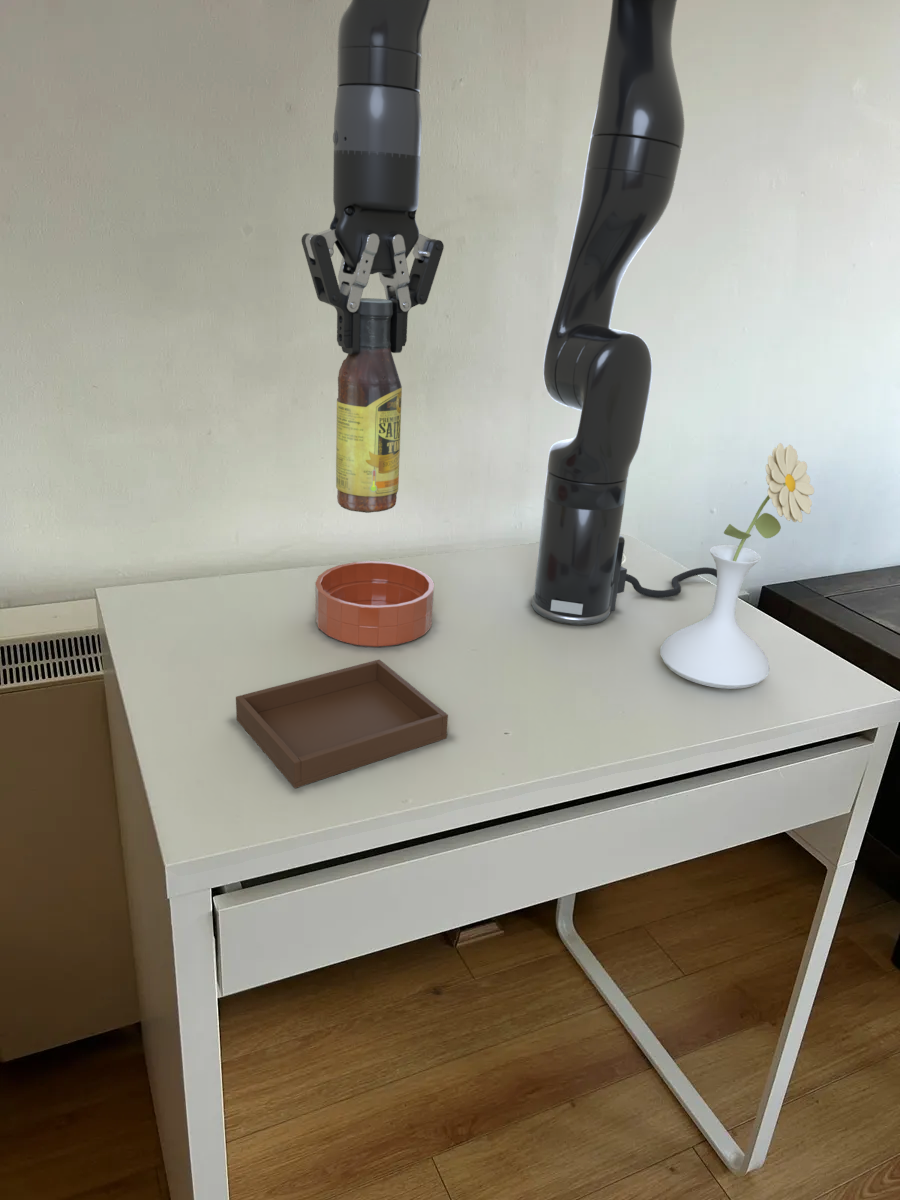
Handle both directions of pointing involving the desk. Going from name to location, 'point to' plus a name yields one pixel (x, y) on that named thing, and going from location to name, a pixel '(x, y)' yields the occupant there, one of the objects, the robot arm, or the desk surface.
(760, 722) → the desk surface
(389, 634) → the bowl
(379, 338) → the sauce bottle
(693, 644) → the flower in vase
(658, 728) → the desk surface
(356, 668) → the tray
